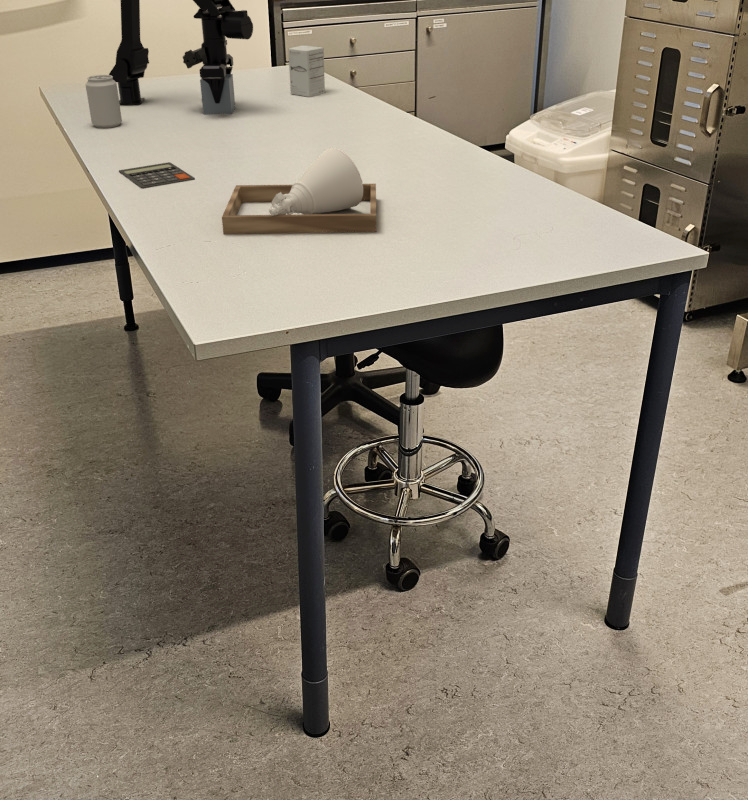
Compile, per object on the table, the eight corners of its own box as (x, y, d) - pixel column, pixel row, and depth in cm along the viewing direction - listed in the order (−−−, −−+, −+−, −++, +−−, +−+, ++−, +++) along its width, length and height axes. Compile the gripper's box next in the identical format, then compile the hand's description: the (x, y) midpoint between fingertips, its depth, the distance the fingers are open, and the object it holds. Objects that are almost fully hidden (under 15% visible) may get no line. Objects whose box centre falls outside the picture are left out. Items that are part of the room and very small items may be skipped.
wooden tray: (237, 200, 179) (235, 185, 178) (376, 198, 179) (375, 183, 178) (223, 233, 163) (221, 217, 161) (376, 231, 163) (376, 215, 161)
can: (118, 128, 232) (110, 79, 226) (88, 128, 232) (80, 79, 226) (125, 121, 238) (118, 73, 232) (96, 121, 238) (89, 73, 232)
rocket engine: (258, 174, 158) (335, 136, 166) (239, 205, 168) (313, 167, 176) (297, 230, 158) (372, 188, 166) (276, 257, 168) (347, 217, 177)
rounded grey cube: (207, 108, 251) (204, 74, 246) (235, 107, 251) (232, 74, 246) (203, 114, 244) (199, 79, 240) (231, 114, 244) (228, 79, 240)
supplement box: (289, 94, 265) (287, 48, 259) (306, 90, 270) (304, 44, 264) (309, 97, 261) (307, 50, 255) (326, 93, 266) (324, 46, 260)
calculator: (141, 186, 187) (118, 169, 198) (141, 191, 187) (118, 173, 198) (195, 177, 192) (169, 161, 203) (195, 181, 192) (170, 165, 204)
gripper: (189, 32, 246) (195, 92, 254) (176, 43, 230) (183, 107, 238) (231, 31, 246) (236, 92, 254) (221, 43, 230) (226, 107, 238)
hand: (220, 99), depth 246 cm, fingers open, 9 cm apart
